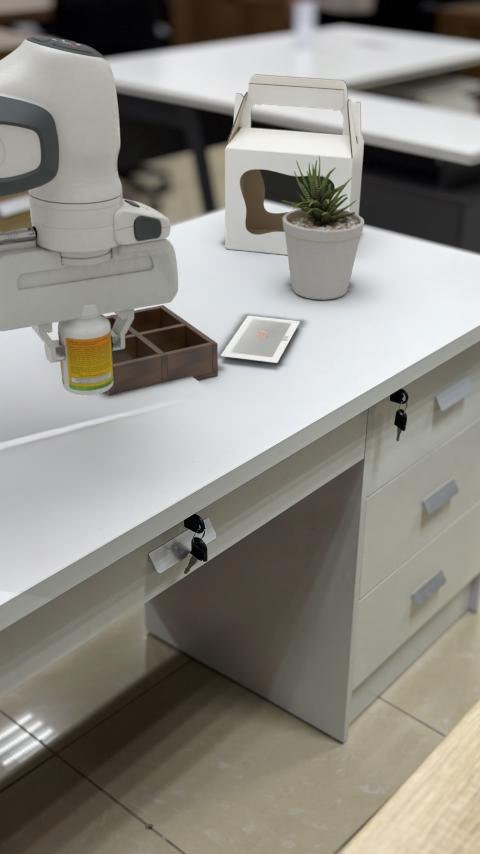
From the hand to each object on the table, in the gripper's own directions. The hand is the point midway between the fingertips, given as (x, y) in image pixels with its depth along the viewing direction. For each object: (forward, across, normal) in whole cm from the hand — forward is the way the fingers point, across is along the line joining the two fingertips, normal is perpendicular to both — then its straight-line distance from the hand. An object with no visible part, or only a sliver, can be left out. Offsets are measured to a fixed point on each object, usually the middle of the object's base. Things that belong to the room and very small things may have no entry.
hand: (86, 353), depth 100 cm
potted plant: (+12, +53, +31) cm, 62 cm away
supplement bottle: (+4, 0, 0) cm, 4 cm away
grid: (+12, +15, +19) cm, 27 cm away
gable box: (+11, +62, +53) cm, 82 cm away
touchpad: (+12, +33, +17) cm, 39 cm away
